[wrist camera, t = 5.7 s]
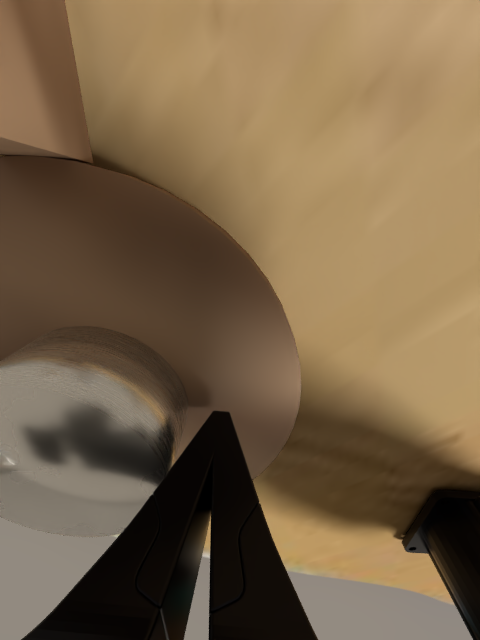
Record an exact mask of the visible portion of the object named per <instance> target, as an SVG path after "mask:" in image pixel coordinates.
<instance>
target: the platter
mask: <svg viewBox="0 0 480 640" xmlns="http://www.w3.org/2000/svg"><path fill="white" fill-rule="evenodd" d="M0 155H4V156H1V157H0V361H2V360H3V359H5V358H7V357H8V356H10V355H11V354H13V353H15V352H16V351H18V350H20V349H21V348H23V347H24V346H26V345H28V344H29V343H31V342H32V341H34V340H36V339H37V338H39V337H40V336H42V335H44V334H46V333H48V332H50V331H53V330H56V329H60V328H64V327H71V326H93V327H101V328H106V329H110V330H114V331H117V332H120V333H123V334H126V335H128V336H130V337H132V338H135V339H137V340H139V341H140V342H142V343H144V344H146V345H147V346H149V347H150V348H152V349H153V350H154V351H156V352H157V353H158V354H159V355H161V356H162V357H163V358H164V359H165V360H166V361H167V362H168V363H169V364H170V365H171V367H172V368H173V369H174V370H175V372H176V373H177V375H178V376H179V378H180V379H181V381H182V383H183V385H184V387H185V390H186V393H187V397H188V404H189V409H188V417H187V421H186V425H185V428H184V432H183V435H182V439H181V442H180V446H179V449H178V453H177V456H176V460H177V459H178V458H179V456H180V455H181V454H182V452H183V451H184V450H185V448H186V447H187V446H188V444H189V443H190V441H191V440H192V439H193V437H194V436H195V435H196V433H197V432H198V431H199V429H200V428H201V427H202V425H203V424H204V422H205V421H206V420H207V418H208V417H209V416H210V414H211V413H212V412H213V411H214V410H216V411H228V412H230V414H231V417H232V420H233V423H234V426H235V429H236V432H237V435H238V438H239V441H240V444H241V447H242V450H243V453H244V456H245V459H246V463H247V466H248V469H249V472H250V475H251V478H252V480H253V479H254V478H256V477H257V476H258V475H259V474H261V473H262V472H263V471H264V470H265V469H266V468H267V467H268V466H269V465H270V464H271V463H272V462H273V461H274V460H275V458H276V457H277V455H278V454H279V453H280V451H281V450H282V448H283V447H284V445H285V444H286V442H287V440H288V438H289V436H290V434H291V432H292V430H293V427H294V424H295V421H296V417H297V414H298V410H299V405H300V396H301V370H300V361H299V357H298V352H297V348H296V343H295V339H294V336H293V333H292V331H291V328H290V325H289V322H288V320H287V317H286V315H285V312H284V310H283V307H282V304H281V302H280V300H279V299H278V297H277V295H276V293H275V291H274V290H273V288H272V286H271V284H270V283H269V281H268V279H267V278H266V276H265V275H264V274H263V272H262V271H261V270H260V268H259V267H258V266H257V264H256V263H255V262H254V260H253V259H252V258H251V257H250V255H249V254H248V253H247V252H246V251H245V250H244V249H243V248H242V247H241V246H240V245H239V244H238V243H237V242H236V241H235V240H234V239H233V238H232V237H231V236H230V235H229V234H228V233H227V232H226V231H225V230H224V229H222V228H221V227H220V226H219V225H217V224H216V223H215V222H213V221H212V220H211V219H210V218H208V217H207V216H206V215H204V214H203V213H202V212H201V211H199V210H198V209H196V208H195V207H193V206H191V205H189V204H188V203H186V202H184V201H183V200H181V199H179V198H178V197H176V196H174V195H172V194H171V193H169V192H167V191H165V190H163V189H161V188H158V187H156V186H154V185H151V184H149V183H146V182H144V181H142V180H139V179H137V178H135V177H132V176H129V175H125V174H121V173H118V172H114V171H110V170H107V169H103V168H100V167H96V166H92V165H89V164H85V163H93V158H92V153H91V147H90V142H89V136H88V130H87V125H86V119H85V113H84V108H83V102H82V96H81V91H80V85H79V79H78V74H77V68H76V62H75V57H74V51H73V45H72V40H71V34H70V28H69V23H68V17H67V11H66V6H65V0H0ZM176 460H175V462H176Z"/></svg>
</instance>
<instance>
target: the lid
mask: <svg viewBox="0 0 480 640" xmlns="http://www.w3.org/2000/svg"><path fill="white" fill-rule="evenodd" d="M188 409H189V404H188V397H187V393H186V390H185V387H184V385H183V383H182V381H181V379H180V378H179V376H178V375H177V373H176V372H175V370H174V369H173V368H172V367H171V365H170V364H169V363H168V362H167V361H166V360H165V359H164V358H163V357H162V356H161V355H159V354H158V353H157V352H156V351H154V350H153V349H152V348H150V347H149V346H147V345H146V344H144V343H142V342H140V341H139V340H137V339H135V338H132V337H130V336H128V335H126V334H123V333H120V332H117V331H114V330H110V329H106V328H101V327H93V326H71V327H64V328H60V329H56V330H53V331H50V332H48V333H46V334H44V335H42V336H40V337H39V338H37V339H36V340H34V341H32V342H31V343H29V344H28V345H26V346H24V347H23V348H21V349H20V350H18V351H16V352H15V353H13V354H11V355H10V356H8V357H7V358H5V359H3V360H2V361H0V517H1V518H4V519H6V520H9V521H11V522H14V523H17V524H20V525H22V526H25V527H29V528H32V529H36V530H39V531H44V532H48V533H53V534H59V535H66V536H76V537H100V536H109V535H115V534H120V533H122V532H123V531H124V529H125V528H126V527H127V526H128V525H129V523H130V522H131V521H132V519H133V518H134V517H135V516H136V514H137V513H138V512H139V510H140V509H141V508H142V507H143V505H144V504H145V502H146V501H147V500H148V498H149V497H150V496H151V495H153V492H154V490H155V489H156V488H157V486H158V485H159V484H160V482H161V481H162V480H163V478H164V477H165V475H166V474H167V473H168V471H169V470H170V469H171V467H172V466H173V465H174V463H175V460H176V456H177V453H178V449H179V446H180V442H181V439H182V435H183V432H184V428H185V425H186V421H187V417H188Z"/></svg>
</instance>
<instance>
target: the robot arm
mask: <svg viewBox="0 0 480 640" xmlns="http://www.w3.org/2000/svg"><path fill="white" fill-rule="evenodd" d="M210 516H211V547H210V600H209V602H210V603H209V640H318V639H317V637H316V635H315V633H314V631H313V629H312V626H311V624H310V622H309V620H308V618H307V615H306V613H305V611H304V609H303V607H302V605H301V602H300V600H299V598H298V596H297V593H296V591H295V589H294V587H293V584H292V582H291V580H290V578H289V576H288V573H287V571H286V569H285V567H284V565H283V562H282V560H281V558H280V555H279V553H278V551H277V548H276V546H275V543H274V541H273V539H272V536H271V533H270V531H269V528H268V525H267V522H266V519H265V517H264V514H263V511H262V508H261V505H260V504H259V499H258V496H257V493H256V490H255V487H254V484H253V481H252V478H251V475H250V472H249V469H248V466H247V463H246V459H245V456H244V453H243V450H242V447H241V444H240V441H239V438H238V435H237V432H236V429H235V426H234V423H233V420H232V417H231V414H230V412H228V411H216V410H214V411H213V412H212V413H211V414H210V416H209V417H208V418H207V420H206V421H205V422H204V424H203V425H202V427H201V428H200V429H199V431H198V432H197V433H196V435H195V436H194V437H193V439H192V440H191V441H190V443H189V444H188V446H187V447H186V448H185V450H184V451H183V452H182V454H181V455H180V456H179V458H178V459H177V460H176V462H175V463H174V465H173V466H172V467H171V469H170V470H169V471H168V473H167V474H166V475H165V477H164V478H163V480H162V481H161V482H160V484H159V485H158V486H157V488H156V489H155V490H154V492H153V495H151V496H150V497H149V498H148V500H147V501H146V502H145V504H144V505H143V507H142V508H141V509H140V510H139V512H138V513H137V514H136V516H135V517H134V518H133V519H132V521H131V522H130V523H129V525H128V526H127V527H126V528H125V529H124V531H123V532H122V533H121V534H120V535H119V536H118V538H117V539H116V540H115V541H114V542H113V543H112V545H111V546H110V547H109V548H108V549H107V550H106V552H105V553H104V554H103V555H102V556H101V557H100V558H99V559H98V560H97V562H96V563H95V564H94V565H93V566H92V567H91V569H90V570H89V571H88V572H87V573H86V574H85V575H84V577H82V579H81V580H80V581H79V582H78V583H77V584H76V585H75V586H74V588H73V589H72V590H71V591H70V592H69V594H67V596H66V597H65V598H64V599H63V600H62V601H61V602H60V603H59V605H58V606H57V607H56V608H55V609H54V610H53V611H52V612H51V613H50V614H49V615H48V616H47V617H46V618H45V619H44V620H43V621H42V622H41V623H40V624H39V625H38V626H37V627H35V628H34V629H33V630H32V631H31V632H30V633H29V634H27V635H26V636H25V637H24V638H23V639H21V640H184V635H185V631H186V626H187V622H188V617H189V613H190V608H191V603H192V598H193V594H194V590H195V585H196V580H197V576H198V571H199V567H200V562H201V558H202V553H203V548H204V544H205V539H206V535H207V530H208V526H209V521H210ZM402 544H403V546H404V549H405V551H407V552H411V553H427V554H429V556H430V558H431V559H432V561H433V563H434V565H435V567H436V569H437V571H438V573H439V575H440V577H441V579H442V581H443V583H444V584H445V586H446V588H447V590H448V592H449V594H450V596H451V598H452V600H453V602H454V604H455V606H456V607H457V609H458V611H459V613H460V615H461V617H462V619H463V621H464V623H465V625H466V627H467V629H468V630H469V632H470V634H471V636H472V638H473V640H480V492H466V491H450V490H439V491H436V492H434V493H433V494H432V495H431V497H430V499H429V500H428V502H427V503H426V505H425V506H424V508H423V509H422V511H421V513H420V514H419V516H418V517H417V519H416V520H415V522H414V523H413V525H412V526H411V528H410V530H409V531H408V533H407V534H406V536H405V537H404V539H403V540H402Z"/></svg>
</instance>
